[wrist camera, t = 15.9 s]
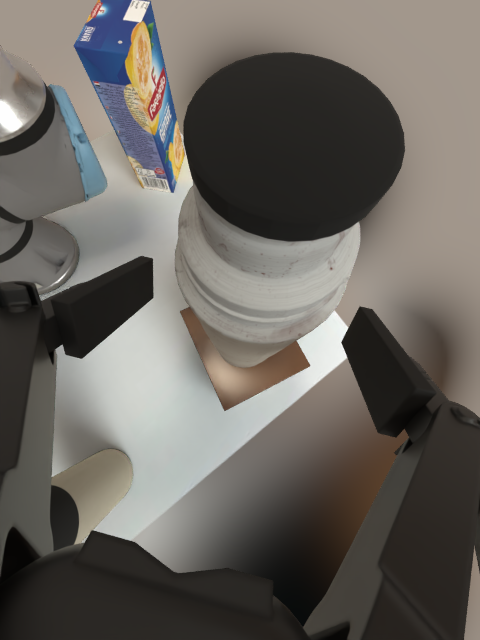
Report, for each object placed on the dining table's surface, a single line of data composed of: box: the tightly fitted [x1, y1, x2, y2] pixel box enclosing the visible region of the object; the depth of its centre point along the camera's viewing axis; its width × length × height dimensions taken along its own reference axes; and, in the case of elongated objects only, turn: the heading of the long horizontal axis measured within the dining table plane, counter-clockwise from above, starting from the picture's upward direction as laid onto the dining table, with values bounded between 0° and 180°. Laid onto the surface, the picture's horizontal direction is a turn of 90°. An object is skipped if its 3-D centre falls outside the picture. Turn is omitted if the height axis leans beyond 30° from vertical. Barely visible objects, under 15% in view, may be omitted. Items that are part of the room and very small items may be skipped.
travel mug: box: [50, 449, 133, 551], centre depth 27 cm, size 8×8×18 cm
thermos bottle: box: [175, 52, 405, 368], centre depth 18 cm, size 8×8×28 cm
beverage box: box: [74, 0, 185, 193], centre depth 40 cm, size 7×11×22 cm, turn 170°
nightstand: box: [180, 307, 310, 411], centre depth 37 cm, size 15×13×10 cm
